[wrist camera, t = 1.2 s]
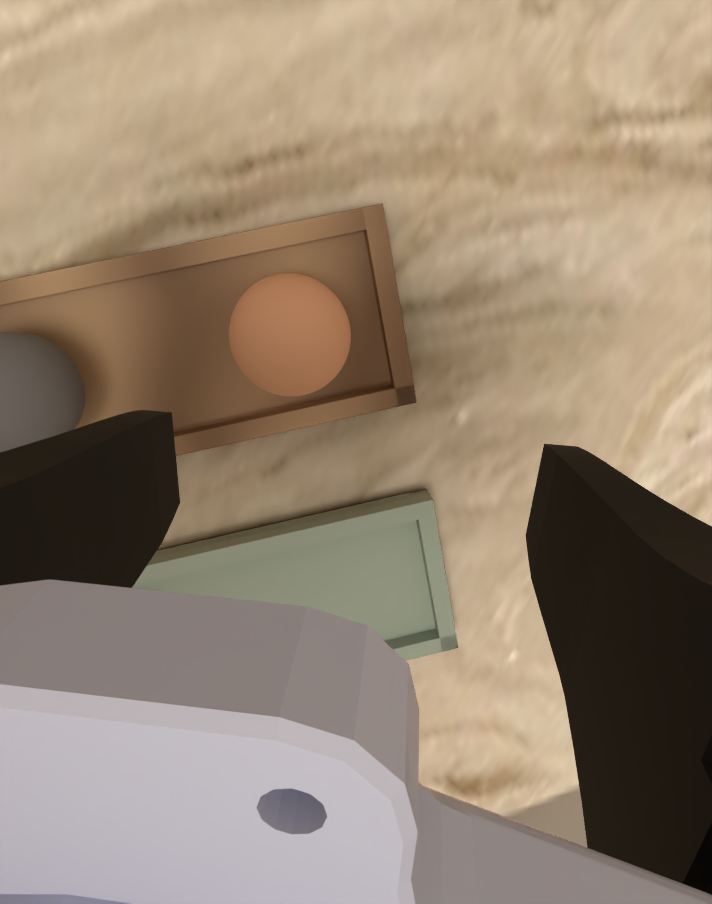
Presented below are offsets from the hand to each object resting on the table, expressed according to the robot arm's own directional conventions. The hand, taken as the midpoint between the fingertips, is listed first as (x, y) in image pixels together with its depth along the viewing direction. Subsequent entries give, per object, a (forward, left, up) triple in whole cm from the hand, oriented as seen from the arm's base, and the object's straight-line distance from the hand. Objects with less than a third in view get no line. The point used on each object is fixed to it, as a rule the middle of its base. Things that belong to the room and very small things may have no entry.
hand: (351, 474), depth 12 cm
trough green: (-5, -9, -12) cm, 16 cm away
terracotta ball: (-1, +2, -10) cm, 10 cm away
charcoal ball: (-10, +2, -10) cm, 14 cm away
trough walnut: (-5, +2, -12) cm, 13 cm away
